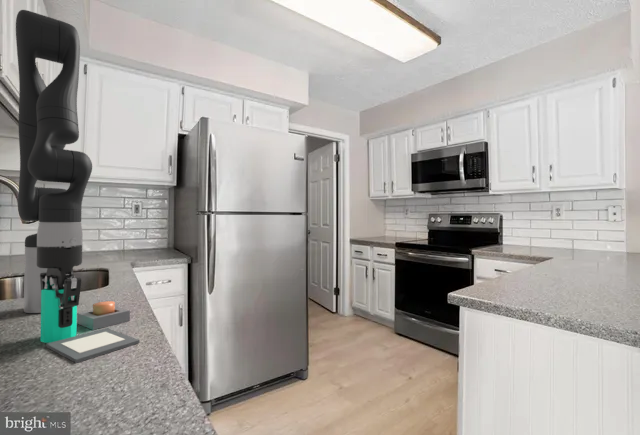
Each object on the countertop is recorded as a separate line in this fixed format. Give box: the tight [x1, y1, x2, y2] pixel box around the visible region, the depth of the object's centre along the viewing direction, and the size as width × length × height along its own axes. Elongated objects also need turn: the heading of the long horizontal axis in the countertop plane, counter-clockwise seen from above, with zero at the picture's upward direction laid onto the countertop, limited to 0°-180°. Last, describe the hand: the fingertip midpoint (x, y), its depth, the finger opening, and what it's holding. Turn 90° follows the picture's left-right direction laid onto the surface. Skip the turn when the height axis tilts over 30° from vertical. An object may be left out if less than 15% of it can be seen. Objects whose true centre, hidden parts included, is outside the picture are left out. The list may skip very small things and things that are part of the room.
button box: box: [77, 305, 131, 331], centre depth 78 cm, size 8×8×2 cm
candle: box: [40, 289, 78, 344], centre depth 68 cm, size 6×6×12 cm
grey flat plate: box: [45, 327, 140, 364], centre depth 65 cm, size 13×11×1 cm
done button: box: [92, 300, 116, 316], centre depth 79 cm, size 4×4×3 cm
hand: (59, 323), depth 68 cm, fingers open, 5 cm apart
